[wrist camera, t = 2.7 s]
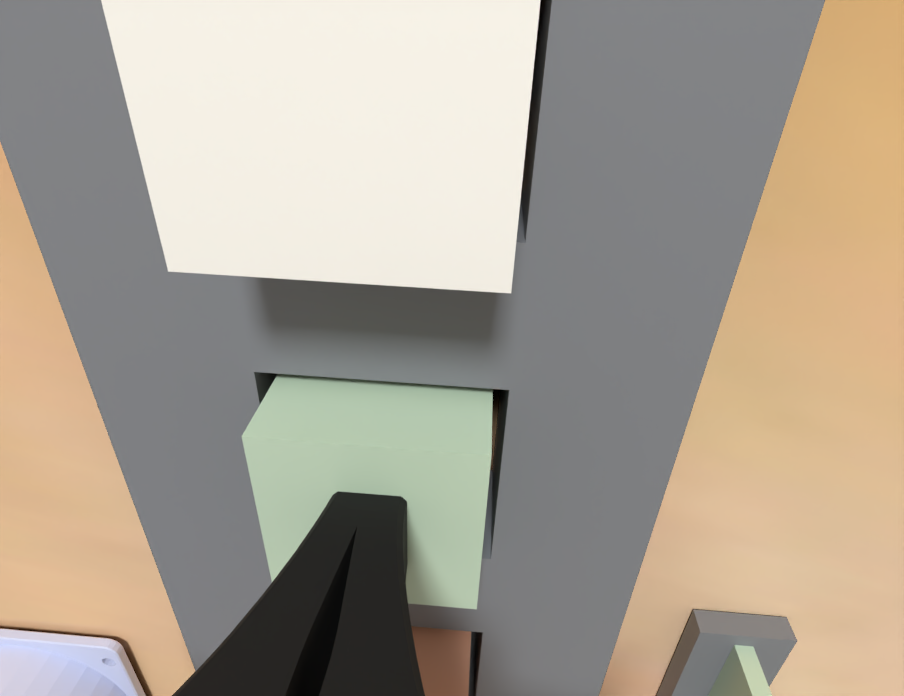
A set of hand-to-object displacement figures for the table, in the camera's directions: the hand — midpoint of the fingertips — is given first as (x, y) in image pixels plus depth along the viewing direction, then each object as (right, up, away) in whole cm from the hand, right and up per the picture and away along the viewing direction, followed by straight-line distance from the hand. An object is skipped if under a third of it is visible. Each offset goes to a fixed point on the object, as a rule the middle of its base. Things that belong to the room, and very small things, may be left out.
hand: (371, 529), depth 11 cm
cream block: (0, +8, -2) cm, 9 cm away
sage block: (0, +2, +3) cm, 4 cm away
